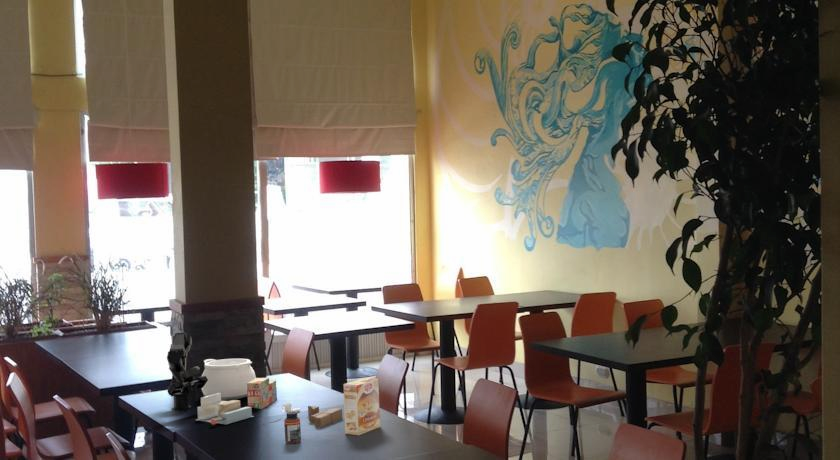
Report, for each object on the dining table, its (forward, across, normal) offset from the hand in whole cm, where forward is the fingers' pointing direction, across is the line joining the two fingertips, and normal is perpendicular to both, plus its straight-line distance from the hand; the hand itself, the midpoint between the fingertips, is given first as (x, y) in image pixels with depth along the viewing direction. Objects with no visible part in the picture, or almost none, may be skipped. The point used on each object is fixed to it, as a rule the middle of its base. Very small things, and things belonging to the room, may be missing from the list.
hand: (197, 400), depth 376 cm
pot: (-11, +38, +21) cm, 45 cm away
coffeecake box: (+64, +13, -53) cm, 84 cm away
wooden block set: (+44, +16, -33) cm, 57 cm away
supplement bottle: (+55, -13, -44) cm, 72 cm away
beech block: (+18, 0, -10) cm, 21 cm away
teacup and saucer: (+30, +23, -19) cm, 42 cm away
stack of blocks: (+11, +31, 0) cm, 33 cm away
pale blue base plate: (+17, -3, -7) cm, 19 cm away
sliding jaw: (+11, 0, -3) cm, 12 cm away
